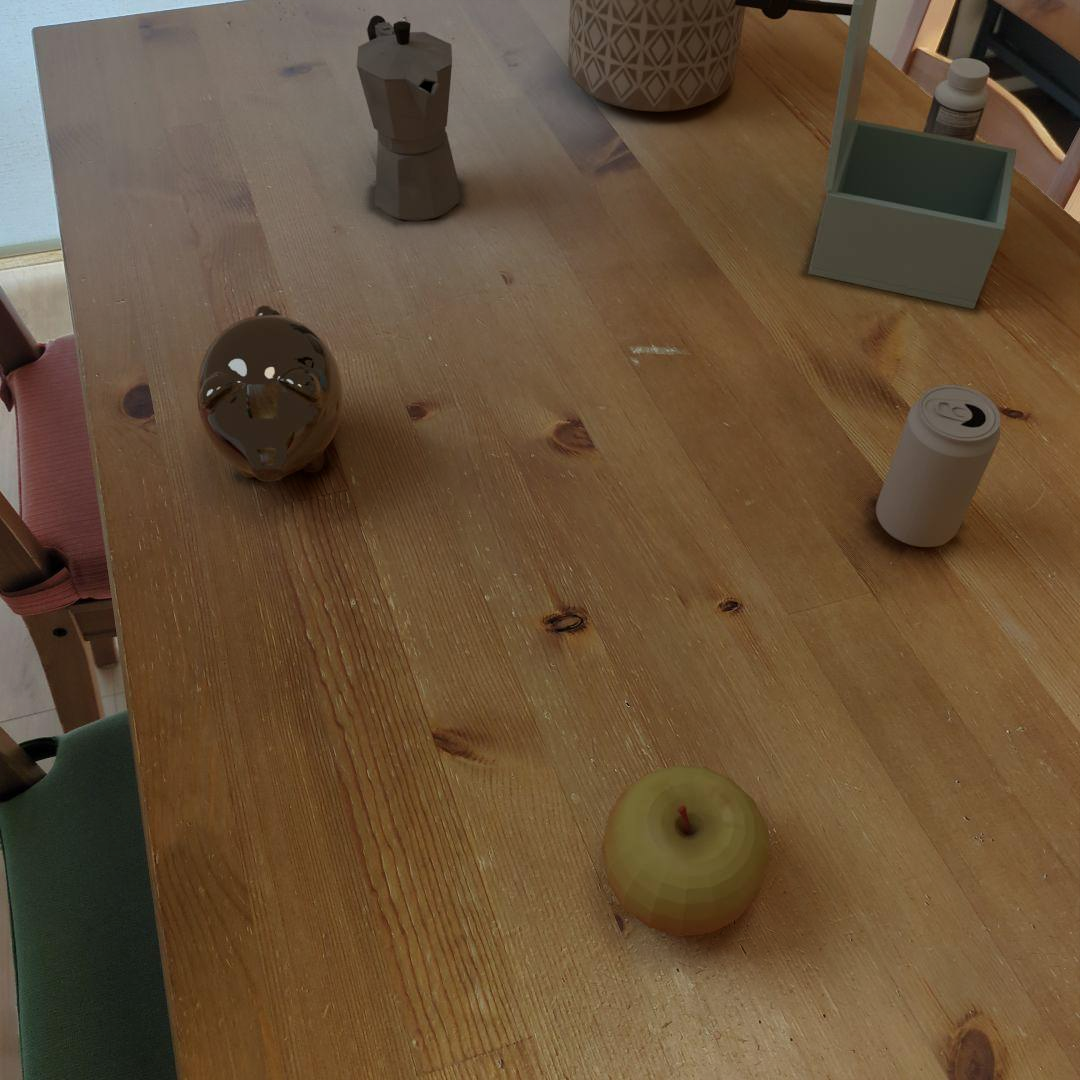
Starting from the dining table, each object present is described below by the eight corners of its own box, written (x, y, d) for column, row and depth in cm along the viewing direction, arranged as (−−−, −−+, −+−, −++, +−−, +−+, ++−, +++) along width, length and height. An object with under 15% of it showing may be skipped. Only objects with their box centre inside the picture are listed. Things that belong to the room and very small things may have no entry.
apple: (621, 783, 73) (630, 721, 67) (769, 824, 71) (792, 764, 65) (581, 926, 67) (587, 872, 61) (742, 974, 65) (764, 924, 59)
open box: (987, 228, 112) (1016, 149, 105) (973, 309, 104) (1004, 229, 97) (832, 197, 115) (851, 118, 108) (807, 274, 107) (826, 194, 100)
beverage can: (951, 562, 85) (1002, 453, 75) (866, 539, 86) (906, 429, 77) (961, 503, 88) (1011, 392, 79) (880, 482, 90) (920, 371, 81)
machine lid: (888, -65, 95) (787, -73, 98) (862, 4, 87) (753, -6, 89) (856, 114, 108) (767, 104, 110) (832, 190, 100) (736, 177, 102)
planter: (648, 24, 138) (660, -120, 126) (767, 84, 129) (793, -65, 117) (533, 77, 130) (534, -72, 117) (653, 144, 121) (667, -9, 108)
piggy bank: (208, 526, 86) (171, 420, 77) (220, 394, 96) (188, 286, 87) (353, 514, 87) (333, 408, 78) (351, 384, 97) (333, 276, 88)
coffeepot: (485, 218, 112) (479, 43, 98) (398, 242, 110) (379, 67, 96) (426, 143, 121) (413, -27, 107) (344, 164, 118) (320, -8, 104)
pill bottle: (924, 135, 123) (950, 49, 115) (973, 148, 121) (1002, 61, 114) (911, 160, 120) (937, 72, 112) (961, 173, 118) (991, 85, 111)
